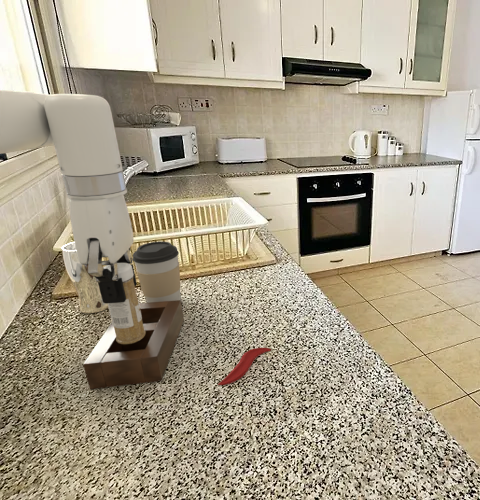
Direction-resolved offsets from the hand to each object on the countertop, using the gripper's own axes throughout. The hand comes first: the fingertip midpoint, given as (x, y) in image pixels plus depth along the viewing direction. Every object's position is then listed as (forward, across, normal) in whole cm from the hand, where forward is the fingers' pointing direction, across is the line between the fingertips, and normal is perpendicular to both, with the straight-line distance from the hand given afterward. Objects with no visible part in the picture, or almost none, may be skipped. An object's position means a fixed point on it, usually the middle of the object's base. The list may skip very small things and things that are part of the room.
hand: (120, 293), depth 62 cm
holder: (+14, -4, 0) cm, 15 cm away
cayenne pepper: (+15, +4, +19) cm, 24 cm away
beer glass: (+15, -23, -15) cm, 31 cm away
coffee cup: (+15, -21, 0) cm, 26 cm away
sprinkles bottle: (+9, 0, 0) cm, 9 cm away
